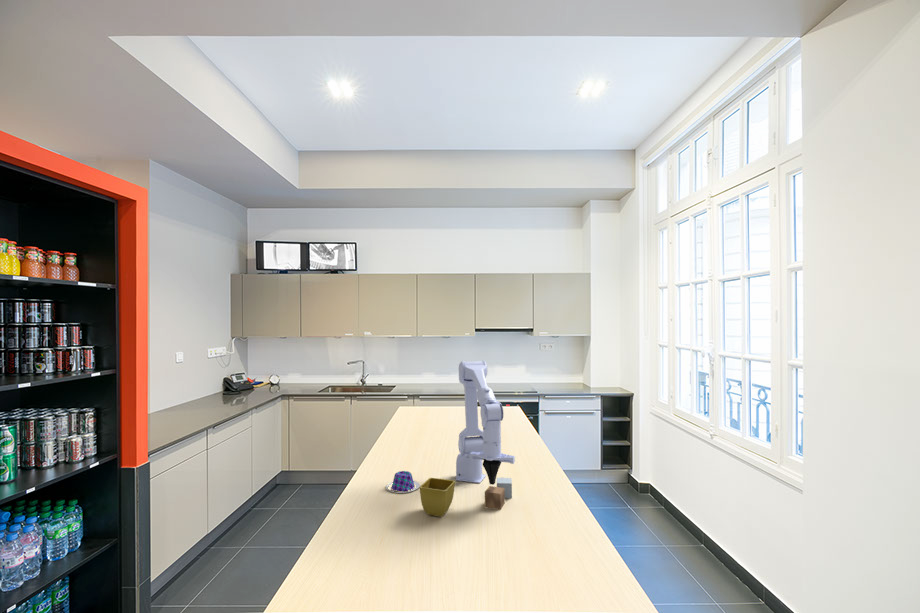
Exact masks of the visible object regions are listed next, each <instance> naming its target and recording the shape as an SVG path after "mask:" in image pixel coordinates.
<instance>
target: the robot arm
mask: <svg viewBox="0 0 920 613" xmlns="http://www.w3.org/2000/svg"><path fill="white" fill-rule="evenodd" d="M487 375H488V365H487V362H486V361H485V360H480V361H479V360H477V361H476V360H475V361H463V360H462V361H460V362H459V364H458V380H459V381H458V382H459V383H460V384H462V385H463V388H464V406H465V407H464V412H465V428H464V429H463V430H461V431H460V432H459V435H458V444H457V446H458V452H459V453H458V455H457V457H456V462H455V464H456V466H455V469H456V471H455V475H456V476H455V481H459V482H460V481H461V482H466V483H467V482H468V483H476V484H480V483H481V482H482V481H483V480H484V478H486V477H488V482H489V483H488V484H489V485H491V486H493V485H495V484H496V482H497V475H498V471H499V469H500V466H501V464H502V463H508V464H511V465H514V464H515V463H516V456H515V455H510V454H506V453H502V434H501V433H502V427H501V424H502V422H501V421H503V420H504V407H503V404H502V403H501V402H500V401H499V400H497V398H496V396H495V394H494V390H493V389H492V388H491V387H489V386H488V383H487V380H486V378H487ZM478 404H479V406H478ZM478 407H479V408H480V409H478ZM479 410H480V419H481V427H482V429H481V428H480V427H479ZM483 469H484V470H485V472H486V474H483Z"/></svg>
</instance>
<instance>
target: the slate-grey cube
mask: <svg viewBox="0 0 920 613" xmlns="http://www.w3.org/2000/svg"><path fill="white" fill-rule="evenodd" d="M512 482H513V481H512V477H496V487H500V488H505V499H513V487H512V486H513V483H512Z"/></svg>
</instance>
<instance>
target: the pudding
mask: <svg viewBox="0 0 920 613" xmlns="http://www.w3.org/2000/svg"><path fill="white" fill-rule="evenodd" d="M392 483H393V484H392ZM391 484H392V487H391V489H393V490H394V491H396V490H397V491H401V492H396V493H397V494H398V493H400V494H401V493H403V494H405V493H406V491H408V490H409V491H408V492H407V493H410V492H414V491H416V490H418V489H420V486H421V484H420V483H419V482H418V481H416V480H414V479H413V475H412V473H411V472H410V471H408V470H402V471H401V470H400V471H397V472H396V473H394V476H393V480H392V481H391V482H389V483H388V484H387V485H386V486H385V488H386V490H387V491H389V492H392V493H395V492H394V491H391V490H389V489H388V487H389V485H391ZM414 484H415V485H416V488H415V487H414ZM414 488H415V489H414ZM411 489H412V490H411ZM410 490H411V491H410ZM404 491H405V492H404Z"/></svg>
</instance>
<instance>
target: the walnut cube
mask: <svg viewBox="0 0 920 613" xmlns="http://www.w3.org/2000/svg"><path fill="white" fill-rule="evenodd" d="M505 499H506V498H505V488H500V487H497V486H493V485H490V486H489V485H488V487H487V488H486V489H485V491H484V508H487V509H492V510H493V509H494V510H500V511H501V510H502V508H503V507H504V505H505V503H506V502H505Z"/></svg>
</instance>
